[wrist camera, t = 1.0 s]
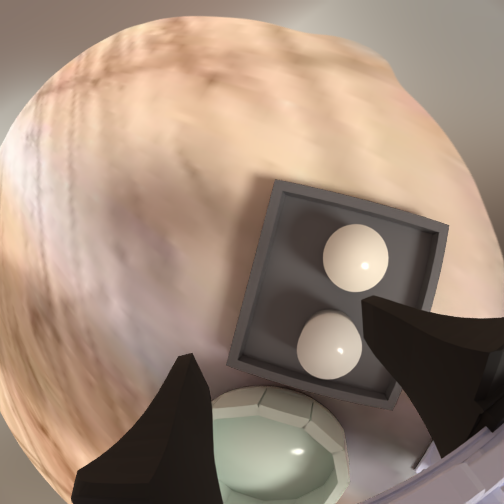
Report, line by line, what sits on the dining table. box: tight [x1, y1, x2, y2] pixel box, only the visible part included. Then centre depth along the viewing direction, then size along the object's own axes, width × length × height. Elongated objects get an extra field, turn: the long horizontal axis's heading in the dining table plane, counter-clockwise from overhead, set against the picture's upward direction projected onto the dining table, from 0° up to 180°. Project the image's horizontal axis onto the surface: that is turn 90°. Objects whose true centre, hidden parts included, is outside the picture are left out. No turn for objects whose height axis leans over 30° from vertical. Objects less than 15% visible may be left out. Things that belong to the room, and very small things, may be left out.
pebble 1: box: [323, 224, 388, 292], centre depth 21 cm, size 4×4×4 cm
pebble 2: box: [297, 309, 362, 379], centre depth 21 cm, size 4×4×4 cm
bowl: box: [211, 386, 350, 504], centre depth 22 cm, size 16×16×4 cm
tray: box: [226, 179, 449, 411], centre depth 22 cm, size 15×16×2 cm
